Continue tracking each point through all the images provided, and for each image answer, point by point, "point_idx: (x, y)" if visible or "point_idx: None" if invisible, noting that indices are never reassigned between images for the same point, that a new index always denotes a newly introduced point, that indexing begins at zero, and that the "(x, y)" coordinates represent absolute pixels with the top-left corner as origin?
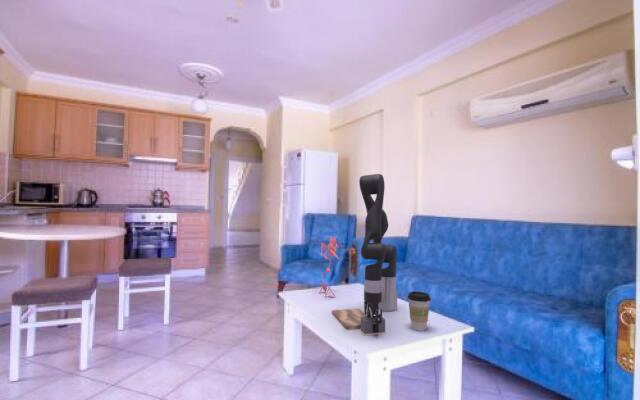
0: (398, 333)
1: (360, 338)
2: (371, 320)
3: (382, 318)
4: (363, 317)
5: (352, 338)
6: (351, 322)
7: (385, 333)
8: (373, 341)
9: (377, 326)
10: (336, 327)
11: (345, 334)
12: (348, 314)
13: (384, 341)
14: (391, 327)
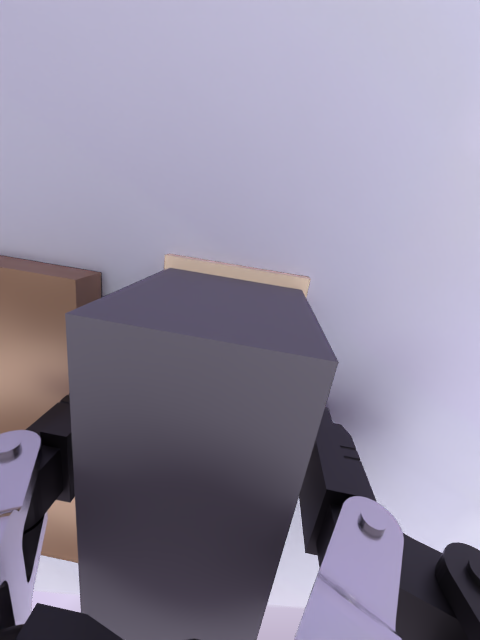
0: (385, 106)
1: (302, 537)
2: (266, 598)
3: (251, 381)
4: (97, 610)
5: (276, 576)
6: None
7: (307, 285)
8: (410, 492)
9: (361, 493)
10: (46, 560)
11: None
12: None
13: (472, 415)
14: (153, 64)
